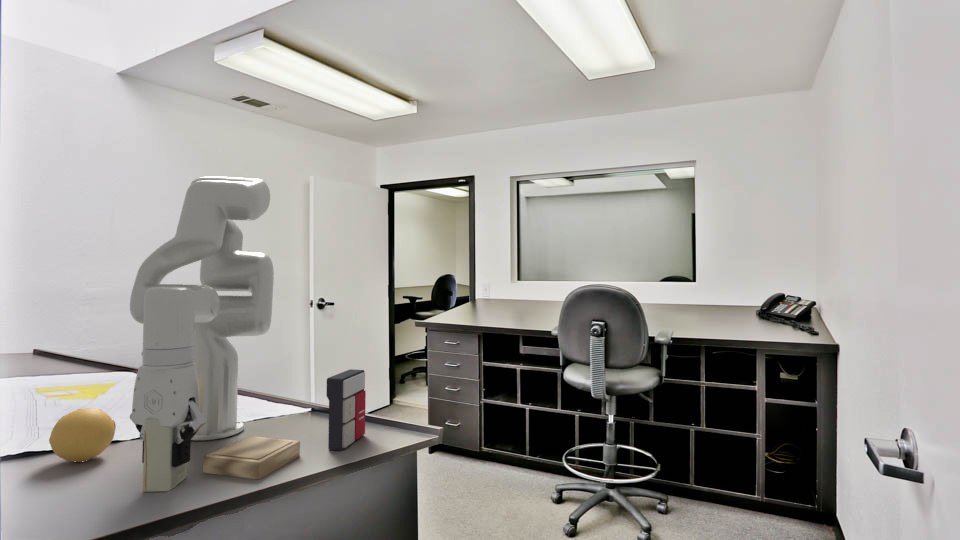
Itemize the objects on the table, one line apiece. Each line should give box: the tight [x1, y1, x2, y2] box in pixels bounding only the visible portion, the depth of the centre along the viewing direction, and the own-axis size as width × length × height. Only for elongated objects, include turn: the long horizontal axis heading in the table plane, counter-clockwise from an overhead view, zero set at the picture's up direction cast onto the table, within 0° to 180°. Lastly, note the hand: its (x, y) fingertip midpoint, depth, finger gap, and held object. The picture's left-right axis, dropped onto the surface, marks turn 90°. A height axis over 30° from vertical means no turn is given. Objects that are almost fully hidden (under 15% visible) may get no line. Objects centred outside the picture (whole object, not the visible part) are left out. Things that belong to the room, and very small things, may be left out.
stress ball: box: [48, 407, 117, 463], centre depth 95 cm, size 10×10×10 cm
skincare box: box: [142, 419, 188, 493], centre depth 84 cm, size 6×4×12 cm
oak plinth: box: [202, 435, 301, 481], centre depth 94 cm, size 12×12×3 cm
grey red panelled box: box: [326, 368, 366, 452], centre depth 107 cm, size 11×4×15 cm, turn 168°
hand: (166, 461), depth 84 cm, fingers closed on skincare box, 5 cm apart
